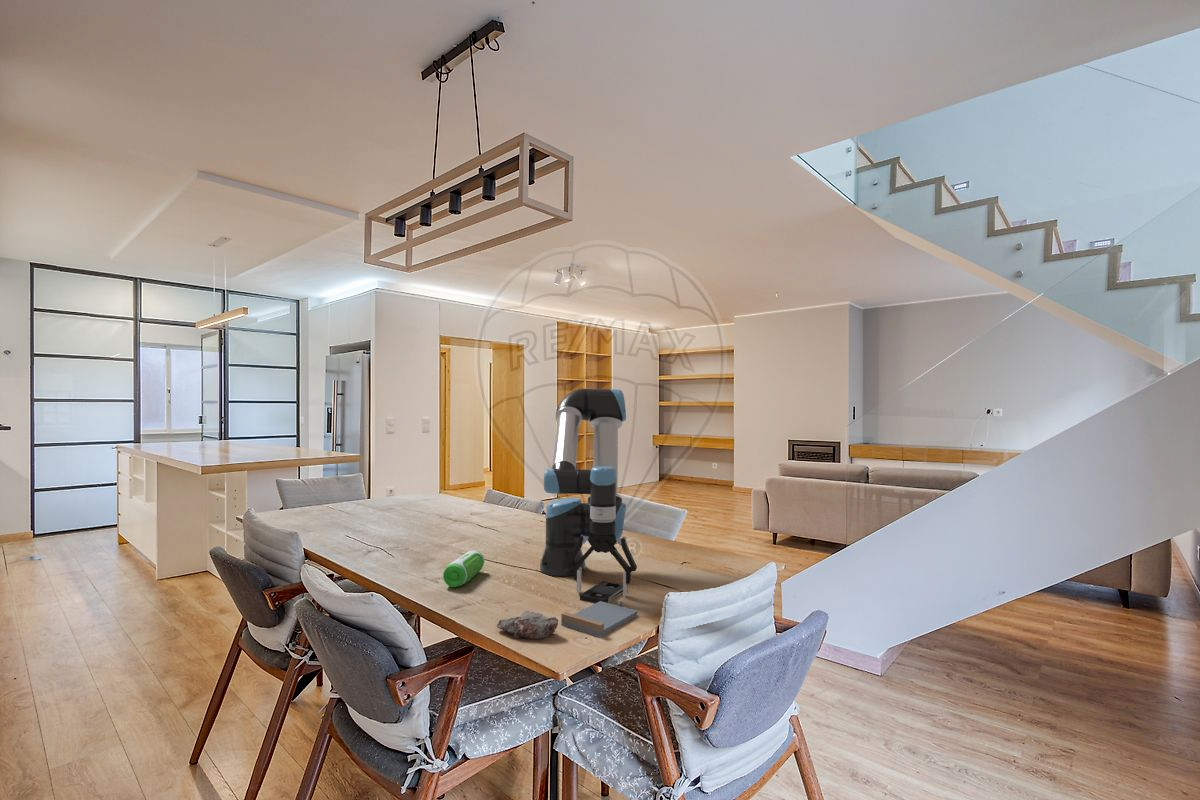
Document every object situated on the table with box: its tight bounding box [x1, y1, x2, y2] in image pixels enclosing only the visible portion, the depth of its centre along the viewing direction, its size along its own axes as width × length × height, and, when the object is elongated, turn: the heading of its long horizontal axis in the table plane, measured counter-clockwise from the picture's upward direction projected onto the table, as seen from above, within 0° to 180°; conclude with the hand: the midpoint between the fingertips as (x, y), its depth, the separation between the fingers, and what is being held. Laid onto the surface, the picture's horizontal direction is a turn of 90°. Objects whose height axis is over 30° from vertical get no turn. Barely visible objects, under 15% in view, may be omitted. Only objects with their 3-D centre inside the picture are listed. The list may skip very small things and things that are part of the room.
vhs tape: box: [579, 580, 623, 604], centre depth 164 cm, size 14×8×2 cm, turn 152°
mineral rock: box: [495, 610, 559, 640], centre depth 136 cm, size 15×8×4 cm, turn 61°
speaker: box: [442, 550, 485, 588], centre depth 176 cm, size 18×7×8 cm, turn 171°
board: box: [560, 600, 638, 638], centre depth 146 cm, size 12×19×3 cm, turn 145°
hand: (601, 593), depth 164 cm, fingers open, 13 cm apart
